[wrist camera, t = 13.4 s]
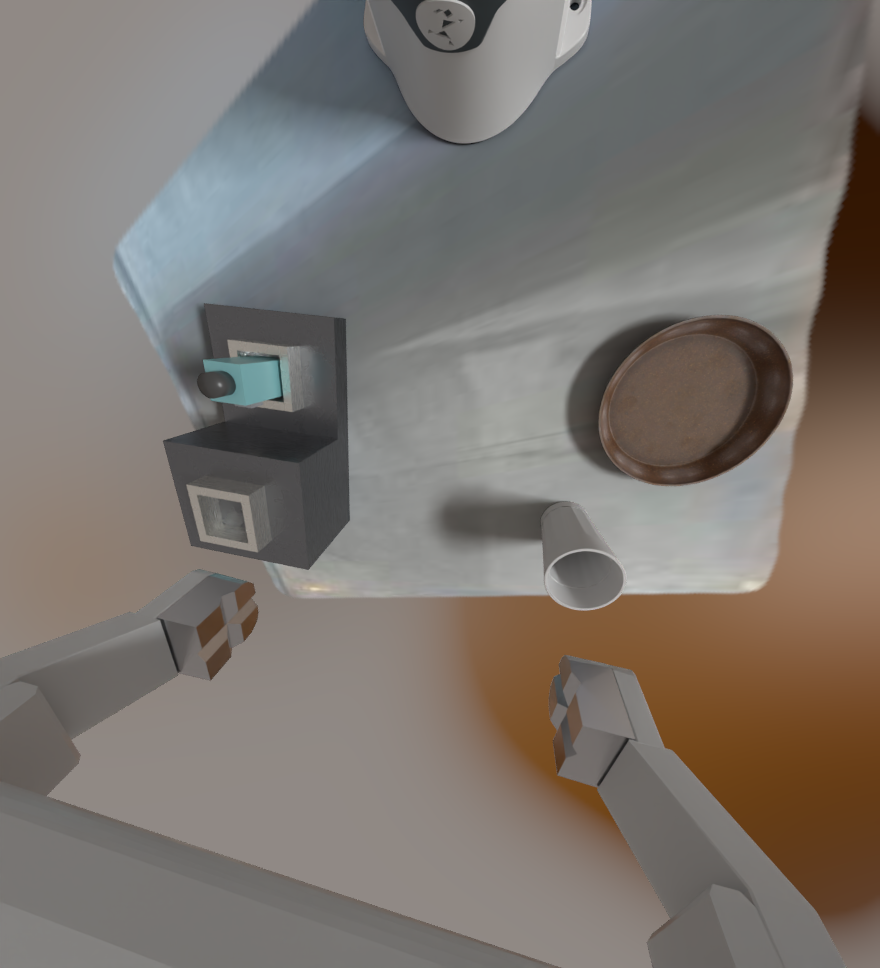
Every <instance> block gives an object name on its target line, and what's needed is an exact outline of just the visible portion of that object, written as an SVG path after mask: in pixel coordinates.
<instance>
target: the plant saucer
mask: <svg viewBox="0 0 880 968" xmlns="http://www.w3.org/2000/svg"><path fill="white" fill-rule="evenodd" d="M792 388H793V371H792V364H791V361H790V358H789V355H788V353H787V351H786V349H785V347H784V346H783V344H782V343H781V341H780V340H779V339H778V338H777V337H776V336H775V335H774V334H773V333H772V332H771V331H770V330H768V329H767V328H766V327H764V326H762V325H761V324H759V323H757V322H754V321H752V320H749V319H746V318H743V317H738V316H730V315H710V316H702V317H697V318H692V319H688V320H685V321H682V322H679V323H677V324H674V325H672V326H669V327H667V328H665V329H663V330H661V331H660V332H658V333H656V334H654V335H653V336H651V337H650V338H648V339H647V340H646V341H644V342H643V343H642V344H640V345H639V346H638V347H637V348H636V349H635V350H634V351H633V352H631V353H630V354H629V356H628V357H627V358H626V359H625V360H624V361H623V362H622V363H621V365H620V366H619V367H618V369H617V370H616V372H615V373H614V375H613V376H612V378H611V380H610V381H609V383H608V385H607V387H606V390H605V392H604V394H603V398H602V401H601V404H600V409H599V417H598V429H599V435H600V440H601V443H602V446H603V448H604V450H605V452H606V454H607V456H608V457H609V458H610V460H611V461H612V462H613V463H614V465H615V466H616V467H617V468H619V469H620V470H621V471H622V472H624V473H625V474H627V475H629V476H630V477H632V478H634V479H636V480H639V481H642V482H645V483H649V484H652V485H660V486H683V485H690V484H695V483H700V482H703V481H707V480H709V479H712V478H715V477H717V476H720V475H722V474H724V473H726V472H728V471H730V470H732V469H733V468H735V467H737V466H738V465H740V464H742V463H743V462H744V461H745V460H747V459H748V458H750V457H751V456H752V455H753V454H755V453H756V452H757V451H758V450H759V449H760V448H761V447H762V446H763V445H764V444H765V443H766V442H767V441H768V440H769V438H770V437H771V436H772V434H773V433H774V432H775V430H776V429H777V427H778V426H779V424H780V423H781V421H782V419H783V417H784V414H785V413H786V410H787V408H788V405H789V402H790V399H791V394H792Z"/></svg>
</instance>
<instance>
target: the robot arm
mask: <svg viewBox="0 0 880 968" xmlns="http://www.w3.org/2000/svg"><path fill="white" fill-rule="evenodd" d="M575 2H576V3H578V4H579V6H580V7H579V8H578V9H577V10H576V11H573V10H571V8H570V5H571V4H572V3H575ZM591 3H592V0H366V3H365V11H364V30H365V33H366V37H367V40H368V42H369V45H370V46H371V48H372V49H373V51H374V52H375V53H376V54H377V56H378V57H379V58H380V59H381V60H382V61H383V62H384V63H385V64H386V65H387V66H388V67H389V68H390V69H391V71H392V73H393V74H394V76H395V79H396V81H397V83H398V86H399V88H400V91H401V93H402V95H403V98H404V100H405V102H406V104H407V105H408V107H409V109H410V110H411V112H412V113H413V115H414V116H415V117H416V119H417V120H418V121H419V122H420V123H421V124H422V125H423V126H424V127H425V128H426V129H427V130H429V131H430V132H431V133H433V134H434V135H436V136H438V137H440V138H442V139H444V140H447V141H450V142H455V143H475V142H479V141H483V140H486V139H488V138H491V137H493V136H495V135H497V134H498V133H500V132H502V131H503V130H505V129H506V128H507V127H509V126H510V125H511V124H512V123H513V122H515V121H516V120H517V119H518V118H519V117H520V116H521V114H522V113H523V112H524V111H525V110H526V109H527V107H528V106H529V105H530V104H531V102H532V101H533V99H534V98H535V96H536V95H537V93H538V92H539V90H540V89H541V87H542V85H543V84H544V82H545V81H546V80H547V78H548V77H549V76H550V74H551V73H552V72H553V71H554V70H556V69H557V68H558V67H560V66H561V65H562V64H563V63H565V62H566V61H567V60H569V59H570V58H571V57H572V56H573V55H574V54H575V53H576V52H577V51H578V50H579V49H580V48H581V47H582V45H583V44H584V42H585V40H586V38H587V35H588V31H589V25H590V18H591ZM255 593H256V592H255V588H254V584H253V583H251V582H247V581H244V580H240V579H236V578H233V577H229V576H225V575H221V574H217V573H213V572H209V571H205V570H201V569H198V570H195V571H191V572H190V573H189V574H187V575H186V576H185V577H183V578H182V579H181V580H179V581H178V582H176V583H175V584H174V585H173V586H171V587H170V588H168V589H167V590H166V591H164V592H163V593H162V594H160V595H159V596H158V597H156V598H155V599H154V600H152V601H151V602H150V603H148V604H147V605H146V606H144V607H143V608H142V609H140V610H139V611H137V612H136V613H132V612H128V613H125V614H123V615H120V616H117V617H114V618H111V619H109V620H106V621H103V622H100V623H97V624H95V625H92V626H89V627H86V628H84V629H81V630H79V631H75V632H72V633H70V634H67V635H64V636H62V637H58V638H56V639H53V640H50V641H47V642H44V643H42V644H39V645H36V646H33V647H31V648H28V649H25V650H23V651H20V652H17V653H14V654H11V655H8V656H5V657H3V658H0V968H561V967H558V966H554V965H552V964H549V963H546V962H542V961H539V960H537V959H534V958H531V957H528V956H525V955H521V954H519V953H516V952H513V951H509V950H506V949H504V948H500V947H497V946H495V945H492V944H488V943H486V942H483V941H479V940H476V939H474V938H471V937H468V936H464V935H462V934H459V933H456V932H453V931H449V930H446V929H443V928H441V927H438V926H435V925H432V924H429V923H426V922H422V921H420V920H416V919H413V918H411V917H407V916H404V915H401V914H398V913H395V912H393V911H390V910H387V909H384V908H380V907H377V906H375V905H372V904H369V903H366V902H363V901H360V900H357V899H354V898H351V897H347V896H344V895H341V894H338V893H335V892H332V891H329V890H326V889H323V888H320V887H317V886H314V885H311V884H308V883H305V882H302V881H299V880H296V879H293V878H290V877H287V876H284V875H281V874H278V873H275V872H272V871H269V870H266V869H263V868H260V867H257V866H254V865H251V864H248V863H245V862H242V861H239V860H236V859H233V858H230V857H227V856H224V855H221V854H218V853H215V852H212V851H209V850H206V849H203V848H200V847H197V846H194V845H191V844H188V843H185V842H182V841H179V840H176V839H173V838H170V837H167V836H164V835H161V834H158V833H155V832H152V831H149V830H146V829H143V828H140V827H137V826H134V825H131V824H128V823H125V822H122V821H119V820H116V819H113V818H110V817H107V816H104V815H101V814H98V813H95V812H92V811H89V810H86V809H83V808H80V807H77V806H74V805H71V804H68V803H65V802H62V801H59V800H56V799H53V798H50V797H47V795H48V794H49V793H50V792H51V791H52V790H53V789H54V788H55V787H56V786H57V785H58V784H59V783H60V781H62V779H64V778H65V777H66V775H68V773H69V772H70V771H71V770H72V769H73V768H74V767H75V766H76V765H77V764H78V763H79V760H80V756H81V755H80V753H79V752H78V750H77V749H76V747H75V745H74V744H73V742H72V739H73V738H75V737H76V736H78V735H80V734H82V733H83V732H85V731H86V730H88V729H90V728H91V727H93V726H95V725H97V724H98V723H100V722H102V721H103V720H105V719H106V718H108V717H110V716H112V715H113V714H115V713H117V712H118V711H120V710H121V709H123V708H125V707H126V706H128V705H130V704H131V703H133V702H135V701H136V700H138V699H140V698H141V697H143V696H145V695H146V694H148V693H150V692H151V691H153V690H155V689H156V688H158V687H159V686H161V685H163V684H165V683H166V682H168V681H170V680H171V679H173V678H175V677H176V676H178V673H180V674H184V675H188V676H193V677H197V678H201V679H205V680H209V681H210V680H212V679H213V677H214V676H215V675H216V674H217V673H218V672H219V670H220V669H221V668H222V667H223V666H224V665H225V663H226V662H227V661H228V660H229V658H231V654H232V648H233V647H235V646H237V645H239V644H241V643H242V642H244V641H245V640H246V639H247V637H248V636H249V635H250V634H251V633H252V630H253V629H254V627H255V624H256V622H257V619H258V606H257V604H256V603H255V602H254V601H253V599H252V597H253V596H254V594H255ZM559 669H560V674H559V675H557V676H555V677H554V678H553V681H552V683H551V686H550V693H549V713H550V720H551V721H552V723H553V725H554V726H555V727H556V729H557V733H556V735H555V737H554V740H553V746H554V754H555V761H556V769H557V775H559V776H562V777H565V778H568V779H572V780H575V781H578V782H581V783H585V784H588V785H592V786H595V787H598V789H597V791H598V792H599V794H600V795H601V798H602V799H603V801H604V803H605V805H606V806H607V808H608V810H609V812H610V813H611V815H612V817H613V818H614V820H615V822H616V824H617V826H618V827H619V829H620V831H621V833H622V834H623V836H624V838H625V839H626V841H627V843H628V845H629V847H630V848H631V850H632V852H633V854H634V855H635V857H636V859H637V861H638V862H639V864H640V866H641V868H642V869H643V871H644V873H645V875H646V876H647V878H648V880H649V882H650V883H651V885H652V887H653V889H654V891H655V892H656V894H657V896H658V898H659V899H660V901H661V903H662V905H663V906H664V908H665V910H666V912H667V913H668V915H669V917H670V920H668V921H667V922H666V923H665V924H663V925H662V926H661V927H660V928H659V929H657V930H656V931H655V932H654V933H652V935H651V937H650V938H649V940H648V941H647V945H648V950H649V954H650V958H651V963H652V967H653V968H847V967H846V965H845V963H844V961H843V959H842V958H841V956H840V954H839V952H838V950H837V948H836V947H835V945H834V943H833V941H832V939H831V937H830V936H829V934H828V932H827V930H826V928H825V926H824V925H823V923H822V921H821V920H820V917H819V915H818V914H817V912H816V911H815V909H814V908H813V907H812V906H811V905H810V904H809V903H808V902H807V900H806V899H805V898H804V897H803V896H802V895H801V894H800V893H799V892H798V891H797V889H796V888H795V887H794V886H793V885H792V884H791V883H790V881H789V880H788V879H787V878H786V877H785V876H784V875H783V874H782V873H781V871H780V870H779V869H778V868H777V867H776V866H775V865H774V864H773V862H772V861H771V860H770V859H769V858H768V857H767V856H766V855H765V853H764V852H762V850H761V849H760V848H759V847H758V846H757V845H756V844H755V842H754V841H753V840H752V839H751V838H750V837H749V836H748V834H747V833H746V832H745V831H744V830H743V829H742V828H741V827H740V826H739V824H738V823H737V822H736V821H735V820H734V819H733V818H732V817H731V815H730V814H729V813H728V812H727V811H726V810H725V809H724V808H723V807H722V805H721V804H720V803H719V802H718V801H717V800H716V799H715V798H714V797H713V795H712V794H711V793H710V792H709V791H708V790H707V789H706V788H705V786H704V785H703V784H702V783H701V782H700V781H699V780H698V779H697V778H696V777H695V775H694V774H693V773H692V772H691V771H690V770H689V769H688V767H686V765H685V764H684V763H683V762H682V761H681V760H680V758H679V757H678V756H677V755H676V754H675V753H674V752H673V751H672V750H669V749H665V748H664V745H663V743H662V740H661V738H660V735H659V733H658V730H657V728H656V725H655V723H654V720H653V718H652V716H651V713H650V710H649V708H648V705H647V703H646V700H645V698H644V695H643V693H642V690H641V688H640V685H639V683H638V680H637V678H636V675H635V674H634V673H633V672H632V670H629V669H624V668H620V667H615V666H611V665H607V664H604V663H599V662H595V661H590V660H586V659H581V658H576V657H572V656H567V655H564V656H563V657H562V659H561V661H560V663H559Z"/></svg>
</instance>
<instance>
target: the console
mask: <svg viewBox="0 0 880 968" xmlns="http://www.w3.org/2000/svg"><path fill="white" fill-rule="evenodd" d="M204 307H205V312H206V318H207V323H208V329H209V334H210V340H211V345H212V351H213V357H214V359H217V358H230V357H243V356H256V355H258V356H266V357H274V358H280V368H281V378H282V388H283V396H280V397H276V398H273V399H269V400H265V401H263V405H261V406H258V407H254V408H246V407H239V406H235V404H231V403H224V402H222V407H223V412H224V418H225V422H222V423H219V424H216V425H213V426H209V427H206V428H203V429H200V430H196V431H193V432H190V433H187V434H183V435H180V436H177V437H174V438H171V439H167V440H164V441H163V442H164V446H165V450H166V454H167V457H168V461H169V465H170V469H171V472H172V476H173V480H174V483H175V487H176V491H177V494H178V498H179V502H180V506H181V510H182V513H183V517H184V521H185V525H186V528H187V532H188V536H189V539H190V543H191V546H196V547H200V548H205V549H210V550H214V551H220V552H224V553H229V554H234V555H239V556H244V557H249V558H254V559H258V560H263V561H268V562H273V563H278V564H283V565H288V566H293V567H297V568H302V569H307V570H309V569H310V567H311V566H312V565H313V564H314V562H315V561H316V560H317V559H318V558H319V556H320V555H321V554H322V553H323V552H324V550H325V549H326V548H327V547H328V546H329V544H330V543H331V542H332V541H333V540H334V538H335V537H336V536H337V535H338V534H339V532H340V531H341V530H342V529H343V528H344V526H345V525H346V524H347V523H348V522H349V520H350V516H349V466H348V416H347V366H346V319H342V318H332V317H323V316H314V315H305V314H296V313H287V312H278V311H269V310H260V309H251V308H242V307H233V306H224V305H214V304H205V303H204Z"/></svg>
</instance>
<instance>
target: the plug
mask: <svg viewBox="0 0 880 968" xmlns="http://www.w3.org/2000/svg"><path fill="white" fill-rule="evenodd" d="M203 363H204V368H205V373H201V374H200V375H199V376H198V379H197V384H198V387H199V389H200V391H201V392H202V394H203V395H205V396H206V397H208V398H210V399H211V401H217V402H224V403H231V404H235V406H239V407H246V408H254V407H258V406H261V405H263V401H265V400H269V399H273V398H276V397H280V396H283V388H282V378H281V368H280V358H274V357H266V356H258V355H256V356H243V357H230V358H217V359H205V360H203Z"/></svg>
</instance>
